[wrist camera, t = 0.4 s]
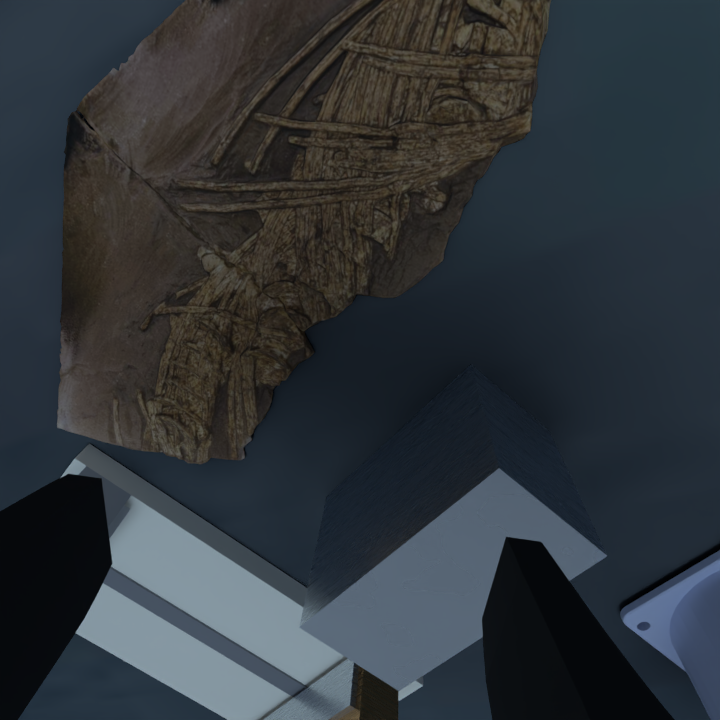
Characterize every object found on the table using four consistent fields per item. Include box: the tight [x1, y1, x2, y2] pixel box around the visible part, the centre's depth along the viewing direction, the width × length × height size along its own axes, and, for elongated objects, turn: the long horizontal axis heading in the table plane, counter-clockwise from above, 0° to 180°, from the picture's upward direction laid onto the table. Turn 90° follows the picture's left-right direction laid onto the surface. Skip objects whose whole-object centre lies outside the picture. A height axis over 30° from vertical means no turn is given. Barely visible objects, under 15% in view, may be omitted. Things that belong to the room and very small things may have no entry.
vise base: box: [61, 444, 423, 720], centre depth 22 cm, size 18×9×4 cm, turn 49°
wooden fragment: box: [57, 0, 551, 464], centre depth 16 cm, size 26×11×1 cm, turn 138°
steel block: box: [299, 364, 607, 691], centre depth 17 cm, size 4×8×6 cm, turn 140°
